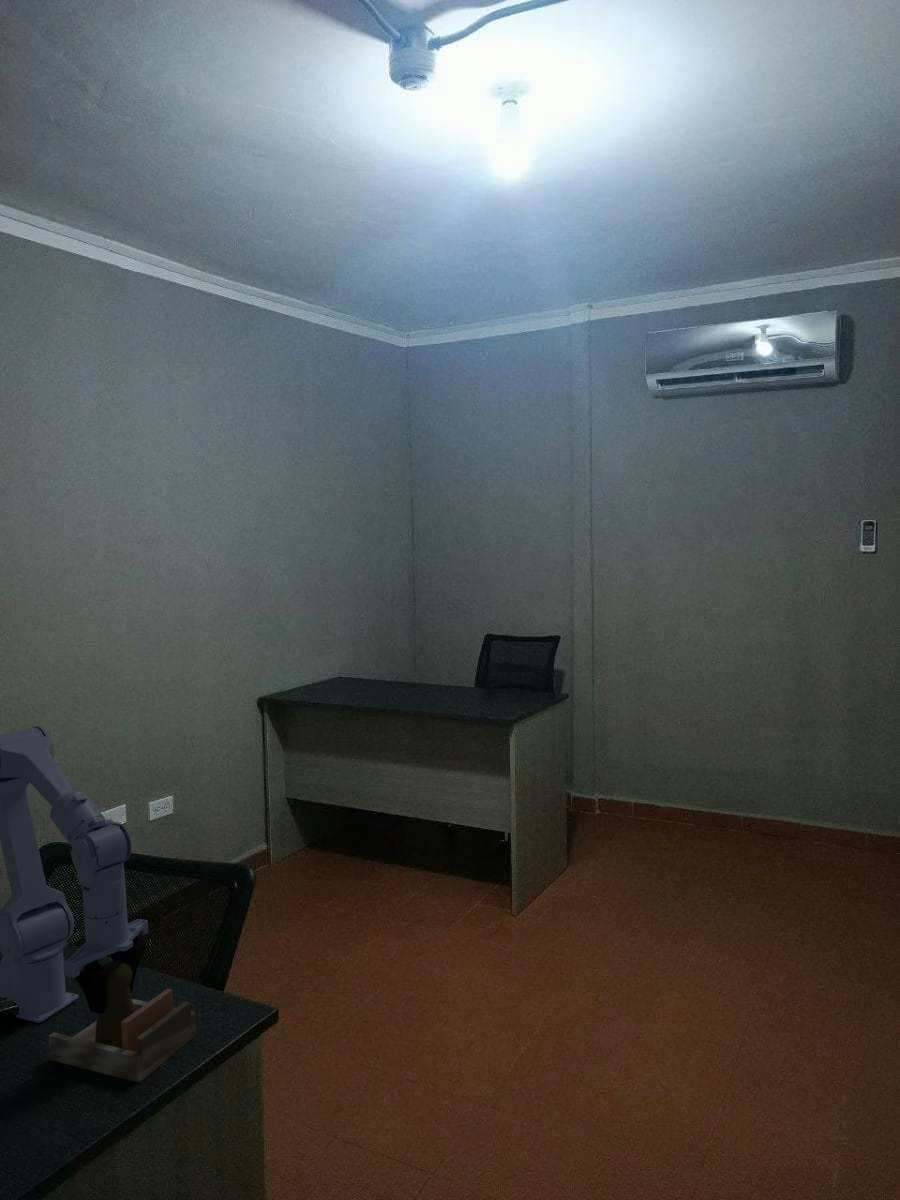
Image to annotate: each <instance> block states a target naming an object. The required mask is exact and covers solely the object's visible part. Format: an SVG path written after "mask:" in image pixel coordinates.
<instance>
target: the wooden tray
mask: <svg viewBox="0 0 900 1200" xmlns="http://www.w3.org/2000/svg"><path fill="white" fill-rule="evenodd" d="M132 1002H133V1006H134V1011H137V1010H138V1009H140V1008H141V1007H142V1006H144V1005H145V1004H147V1003H148V1002H149V1001H144V1000H139V999H135V998H132ZM191 1008H192V1007H191V1002H189V1001H183V1002H181V1003H180V1004H179V1005H178V1006H176V1007H174V1010H173V1011H171V1012H170V1013H169V1014H167V1015H166V1016H165V1017H163V1018H162V1019H161V1020H159V1021H158V1022H157V1023H155V1024H154V1025H153V1026H151V1027H150V1028H149V1029H148V1030H146V1031H145V1032H144V1033H142V1034H141V1035H140V1036H138V1037H137V1038H136V1043H137V1052H134V1051H130V1050H126V1049H123V1048H117V1047H113V1046H109V1045H105V1044H101V1043H96V1042H95V1035H96V1022H97V1020H95V1021H94V1022H92V1023H91V1024H90V1025H88V1026H87V1027H85V1028H84V1029H82V1030H81V1031H80V1032H78V1033H77V1034H75V1035H74V1036H72V1035H67V1034H63V1033H58V1032H55V1031H54V1032H52V1033H51V1034H49V1035H48V1047H49V1050H48V1051H49V1060H50V1061H52V1062H57V1063H60V1064H65V1065H69V1066H72V1067H77V1068H81V1069H84V1070H89V1071H93V1072H96V1073H99V1074H104V1075H107V1076H111V1077H116V1078H118V1079H119V1078H120V1079H124V1080H127V1081H131V1082H135V1083H138V1082H139V1083H141V1082H142V1081H144V1080H145V1079H146V1078H147V1077H149V1075H151V1074H152V1073H153V1072H154V1071H155V1070H156V1069H158V1068H159V1067H160V1066H161V1065H162V1064H164V1063H165V1062H166V1061H167V1060H169V1057H170V1058H171V1057H173V1055H174V1053H175V1054H176V1053H177V1052H178V1051H179V1050H181V1049H182V1048H183V1047H185V1045H186V1044H188V1043H189V1042H191V1040H193V1039H194V1038H195V1037H196V1036H198V1034H197V1032H198V1031H197V1018H196V1016H197V1015H196V1012H195V1011H192V1009H191ZM187 1042H188V1043H187ZM181 1047H182V1048H181ZM180 1048H181V1049H180ZM177 1050H178V1051H177ZM176 1051H177V1052H176ZM145 1077H146V1078H145Z"/></svg>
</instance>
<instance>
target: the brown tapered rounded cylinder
mask: <svg viewBox="0 0 900 1200" xmlns="http://www.w3.org/2000/svg"><path fill="white" fill-rule="evenodd" d="M101 967H106V968H110V971H109V974H108V977H107V982H106V1006H105V1012H103V1013H102V1014H99V1013H96V1021H97V1022H96V1035H95V1042H96V1043H101V1044H105V1045H109V1046H113V1047H117V1048H123V1046H122V1031H121V1022H122V1021H123V1020H124V1019H126V1018H127V1017H129V1016H130V1015H131V1014H133V1013H134V1012H135V1011H134V1006H133V1002H132V999H133V998H132V993H131V992H130V988H129V984H130V983H131V980H132V969H131V967H130V965H129V964H128V963H126V962H123V961H113V960H111V961H108V962H106V963H104V964H101Z"/></svg>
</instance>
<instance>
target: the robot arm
mask: <svg viewBox="0 0 900 1200" xmlns="http://www.w3.org/2000/svg"><path fill="white" fill-rule="evenodd" d="M54 752H55V749H54V742H53V739H52V737H51V735H50V733H49V731H47V730H46V729H45V727H43V726H41V725H34V726H32V727H31V728H26V729H25V728H24V729H20V730H16V731H10V732H6V733H0V847H1V851H2V856H3V860H4V865H5V868H6V869H5V870H6V873H7V874H6V875H7V878H8V883H9V888H10V893H11V895H10V896H9V898H8V900H7V901H6V902H5V903H4V905H3V906H2V907H1V909H0V953H1V955H2V956H3V957H2V958H1V960H0V997H2V998H7V999H8V1000H11V1001H13V1002H15V1003H16V1004H17V1005H18V1006H19V1014H17V1015H16V1017H18V1018H17V1019H20V1018H21V1019H22V1020H25V1021H30V1022H33V1023H37V1024H39V1023H42V1022H44V1021H45V1020H47V1019H49V1018H50V1017H52V1016H53V1015H55V1014H56V1013H58V1012H60V1011H61V1010H63V1009H64V1008H65V1007H67V1006H69V1005H70V1004H72V1003H73V1002H75V1001H77V1000H78V999H79V998H80V996H79V994H76V993H72V992H67V991H66V977H69V978H73V979H75V981H76V982H77V984H78V985H79V987H80V988H81V991H82V992H83V995H84V998H85V1000H86V1003H87V1005H88V1008H89V1011H90V1012H91V1013H95V1014H97V1013H99V1014H102V1013H103V1012H105V1006H106V982H107V977H108V974H109V971H110V968H106V967H101V966H102V964H101V963H99V961H100V960H101V959H104V958H105V957H107V956H110V957H111V959H112V960H111V961H123V962H126V963H128V964H129V965H130V967H131V969H132V980H131V983H130V984H129V988H130V992H131V994H132V993H133V990H134V987H135V986H134V984H135V979H136V975H137V971H138V967H139V965H140V961H141V959H142V957H143V955H144V953H145V951H146V949H147V947H146V946H147V945H146V944H147V943H146V941H144V940H141V939H139V936H145V935H147V934H148V933H149V922H148V920H147V919H141V918H140V919H139V918H137V919H135V920H133V921H131V922H128V909H127V906H128V905H127V892H126V879H125V867H124V866H125V864H124V862H126V861H127V860H129V859H130V857H131V855H132V847H133V846H132V840H131V836H130V834H129V832H128V831H127V829H126V827H125V825H124V824H122V823H121V822H118V821H114V820H112V818H111V819H110V818H109V819H107V818H106V817H105V815H104V814H102V812H101V811H100V810H99V809H98V807H97V806H96V805H95V803H94V802H93V801H92V800H91V798H90V797H89V796H88V794H87V793H86V792H84V791H81V790H77V791H76V790H75V791H74V789H73V788H72V786H71V785H70V783H69V781H68V780H67V778H66V776H65V775H64V773H63V771H62V770H61V769H60V767H59V766H58V764H57V762H56V761H55V758H54V755H55V753H54ZM29 783H30V785H31V786H32V787H33V788H34V789H35V790H36V791H37V792H38V793H39V794H40V795H41V796H42V797H43V798H44V799H45V801H47V802H48V804H49V805H50V806H51V809H50V812H49V818H50V819H51V821H52V822H53V824H54V825H55V826H56V828H57V829H58V831H60V833H61V834H62V835H63V837H64V839H65V840H66V841H67V843H68V844H69V846H71V847H72V848H71V850H70V857H71V860H72V864H73V866H74V868H75V870H76V877H77V881H78V884H79V885H80V886H81V888H82V889H81V890H82V902H83V904H82V905H83V906H82V907H83V917H84V929H85V930H84V933H85V942H84V943H83V944H82V945H81V946H80V948H78V950H76V952H74V953H73V955H72V956H70V957H69V958H67V959H66V960H64V950H63V949H64V948H66V947H68V942H67V941H68V939H71V937H72V934H73V933H74V929H75V920H74V915H73V912H72V910H71V908H69V906H68V903H67V900H66V897H65V894H64V892H62V891H60V890H58V889H55V888H52V887H50V886H48V885H47V881H46V877H45V874H44V873H45V872H44V868H43V864H42V859H41V855H40V850H39V844H38V840H37V836H36V831H35V828H34V827H35V826H34V823H33V819H32V817H33V816H32V813H31V808H30V804H29V800H28V795H27V788H28V786H29ZM39 907H40V908H39ZM34 909H35V910H34ZM16 1017H15V1018H16Z"/></svg>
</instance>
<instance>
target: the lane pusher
mask: <svg viewBox="0 0 900 1200" xmlns="http://www.w3.org/2000/svg"><path fill="white" fill-rule="evenodd" d="M147 1002H148V1003H147V1004H145V1005H144V1006H142V1007H141V1008H140V1009H138V1010H137V1011H135V1012H134V1013H133V1014H131V1015H130V1016H129V1017H127V1018H126V1019H124V1020H123V1021H122V1022H121V1031H122V1046H123V1049H126V1050H130V1051H134V1052H137V1043H136V1038H137V1037H138V1036H140V1035H141V1034H142V1033H144V1032H145V1031H146V1030H148V1029H149V1028H150V1027H151V1026H153V1025H154V1024H155V1023H157V1022H158V1021H159V1020H161V1019H162V1018H163V1017H165V1016H166V1015H167V1014H169V1013H170V1012H171V1011H173V1010H174V1008H175V1006H174V1005H175V1004H174V989H171V988H166V989H165V990H164V991H161V993H159V994H158V995H157V996H155V997H154V998H152V999H151V1000H149V1001H147Z"/></svg>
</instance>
